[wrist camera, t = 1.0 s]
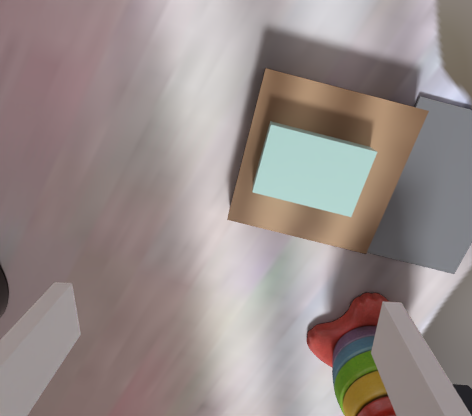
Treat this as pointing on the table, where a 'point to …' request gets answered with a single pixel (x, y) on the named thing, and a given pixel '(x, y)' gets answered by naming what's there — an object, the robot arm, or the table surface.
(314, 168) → the mint green block
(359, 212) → the tan flat square slab
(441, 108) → the mat
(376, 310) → the stacking bear
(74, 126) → the table surface
